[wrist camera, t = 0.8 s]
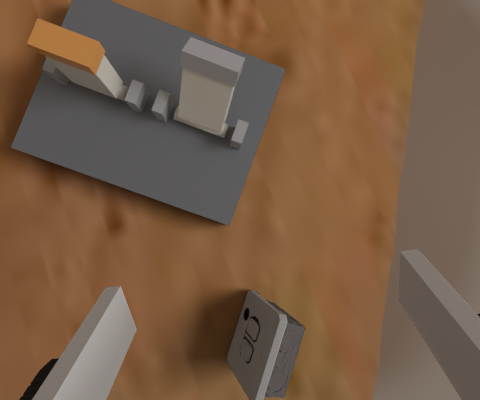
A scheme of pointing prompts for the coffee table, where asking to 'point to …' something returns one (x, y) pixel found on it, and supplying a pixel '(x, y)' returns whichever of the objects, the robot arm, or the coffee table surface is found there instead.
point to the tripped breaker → (77, 58)
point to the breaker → (207, 86)
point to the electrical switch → (264, 348)
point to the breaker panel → (147, 116)
